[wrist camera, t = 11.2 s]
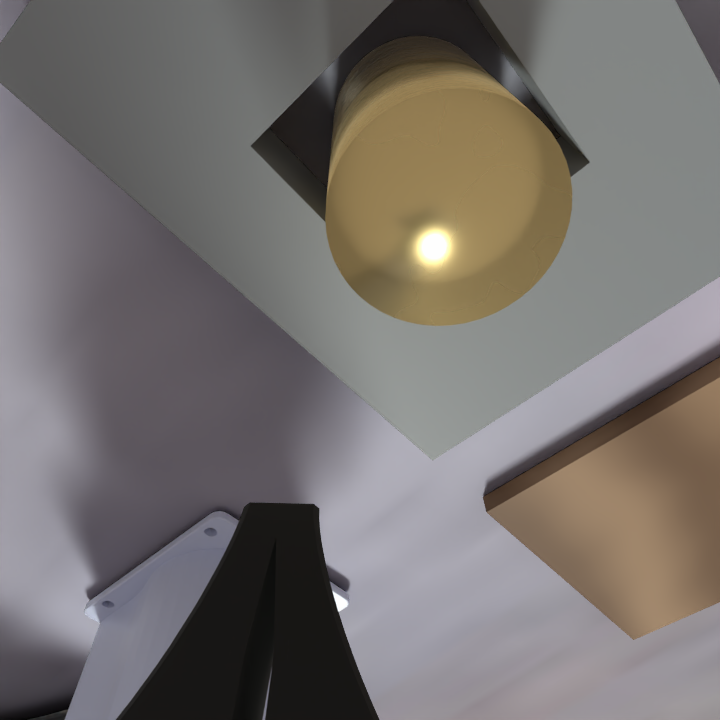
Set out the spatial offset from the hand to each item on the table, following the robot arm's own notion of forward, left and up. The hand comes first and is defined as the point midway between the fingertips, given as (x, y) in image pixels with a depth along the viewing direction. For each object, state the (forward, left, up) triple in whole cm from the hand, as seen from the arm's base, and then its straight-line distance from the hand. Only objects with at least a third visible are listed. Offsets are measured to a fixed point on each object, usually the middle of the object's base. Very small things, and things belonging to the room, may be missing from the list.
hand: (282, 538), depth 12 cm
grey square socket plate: (+6, +2, -9) cm, 11 cm away
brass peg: (+6, +2, -9) cm, 11 cm away
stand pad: (+5, -17, -9) cm, 20 cm away
